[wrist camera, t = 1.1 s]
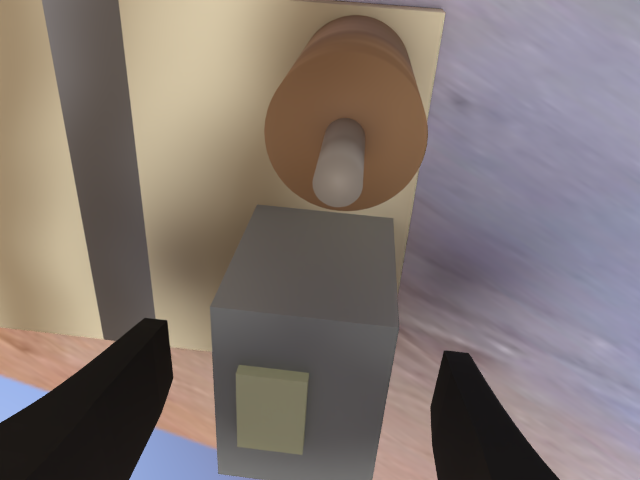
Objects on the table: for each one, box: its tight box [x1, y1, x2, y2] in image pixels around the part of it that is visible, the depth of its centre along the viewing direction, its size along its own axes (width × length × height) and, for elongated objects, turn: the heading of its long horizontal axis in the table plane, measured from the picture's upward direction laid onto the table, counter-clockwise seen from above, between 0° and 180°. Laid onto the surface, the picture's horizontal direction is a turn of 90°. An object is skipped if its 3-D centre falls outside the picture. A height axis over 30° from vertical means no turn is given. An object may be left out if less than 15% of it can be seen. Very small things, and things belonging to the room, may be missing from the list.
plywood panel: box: [0, 0, 445, 352], centre depth 16 cm, size 14×12×1 cm
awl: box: [264, 15, 428, 211], centre depth 10 cm, size 3×3×7 cm
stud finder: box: [210, 204, 399, 480], centre depth 14 cm, size 4×6×5 cm
